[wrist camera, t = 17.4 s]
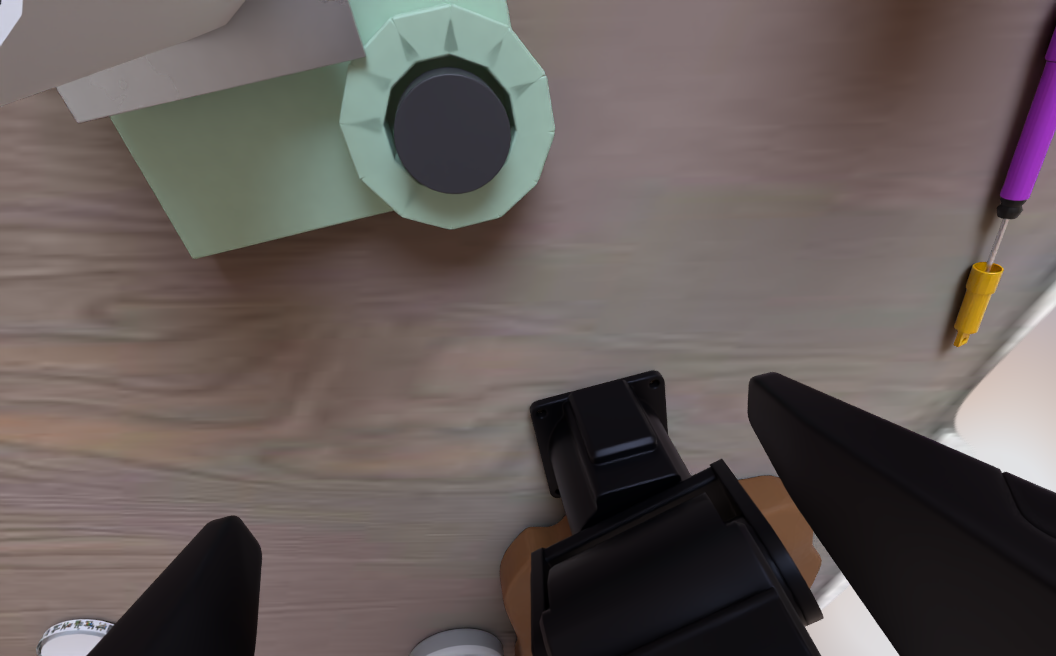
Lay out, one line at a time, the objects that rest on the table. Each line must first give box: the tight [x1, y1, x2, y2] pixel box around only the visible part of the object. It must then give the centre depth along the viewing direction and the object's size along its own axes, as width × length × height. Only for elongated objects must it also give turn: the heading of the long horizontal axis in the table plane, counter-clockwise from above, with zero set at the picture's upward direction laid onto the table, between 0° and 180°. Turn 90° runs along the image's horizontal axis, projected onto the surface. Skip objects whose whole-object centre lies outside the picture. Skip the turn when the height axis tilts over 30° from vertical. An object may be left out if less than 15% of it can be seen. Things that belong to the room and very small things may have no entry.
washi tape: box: [36, 619, 114, 656], centre depth 29 cm, size 4×4×1 cm
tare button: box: [394, 67, 511, 194], centre depth 16 cm, size 3×3×2 cm
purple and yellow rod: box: [953, 27, 1056, 347], centre depth 24 cm, size 3×1×16 cm
